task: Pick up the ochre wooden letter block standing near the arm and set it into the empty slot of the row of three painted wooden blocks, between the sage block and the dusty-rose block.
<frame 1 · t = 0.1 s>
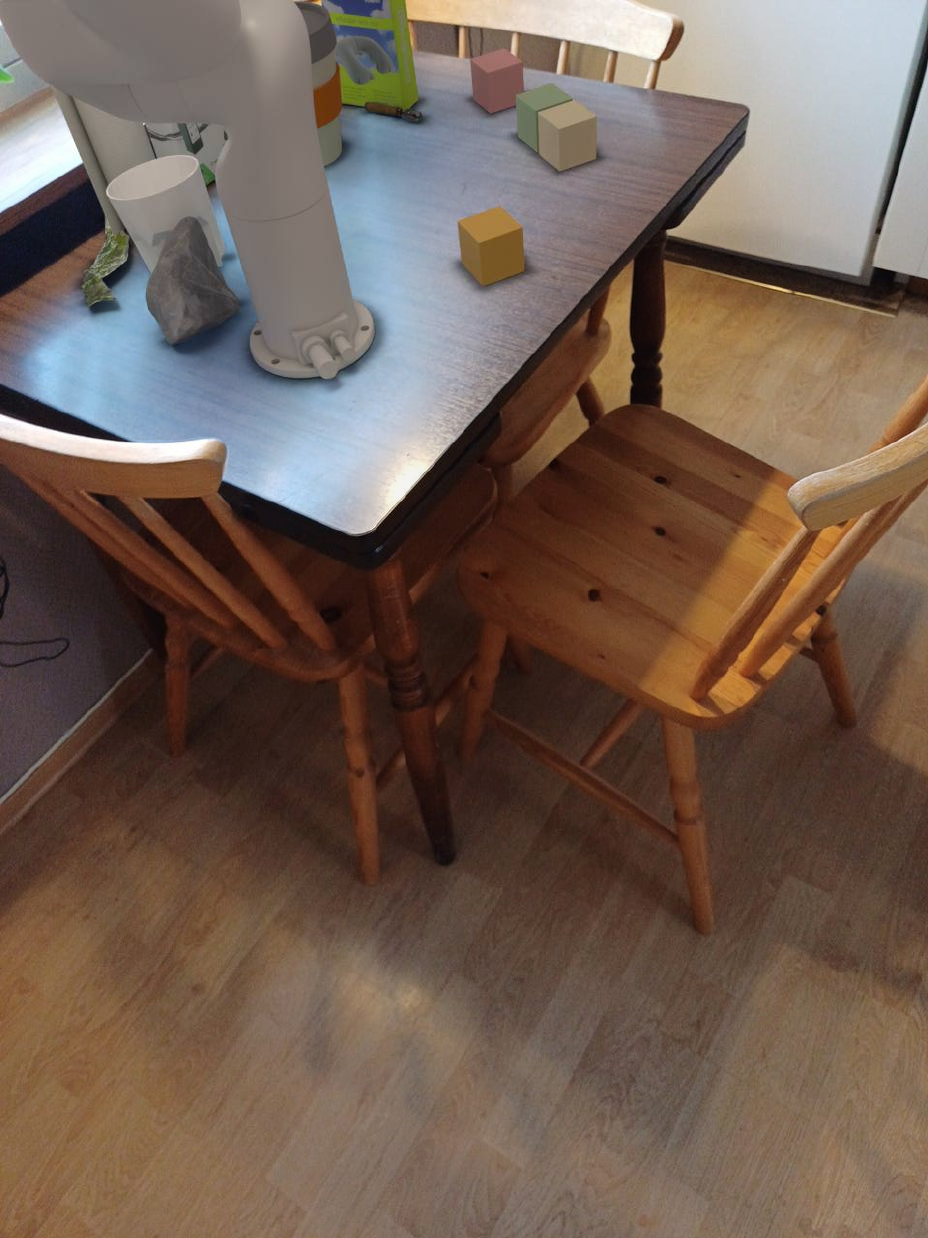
ink box: (203, 176, 119), on the table
ochre block: (493, 267, 101), on the table
box: (379, 104, 127), on the table
cup: (191, 267, 106), on the table
stone: (237, 305, 101), on the table
block b: (545, 138, 116), on the table
paper towel roll: (147, 227, 112), on the table, touching green crumpled strip
green crumpled strip: (114, 237, 108), point 2 cm above the table, touching paper towel roll
block c: (498, 100, 123), on the table
can opener: (394, 117, 124), on the table
reusable coffee cup: (307, 154, 120), on the table
block a: (567, 156, 113), on the table
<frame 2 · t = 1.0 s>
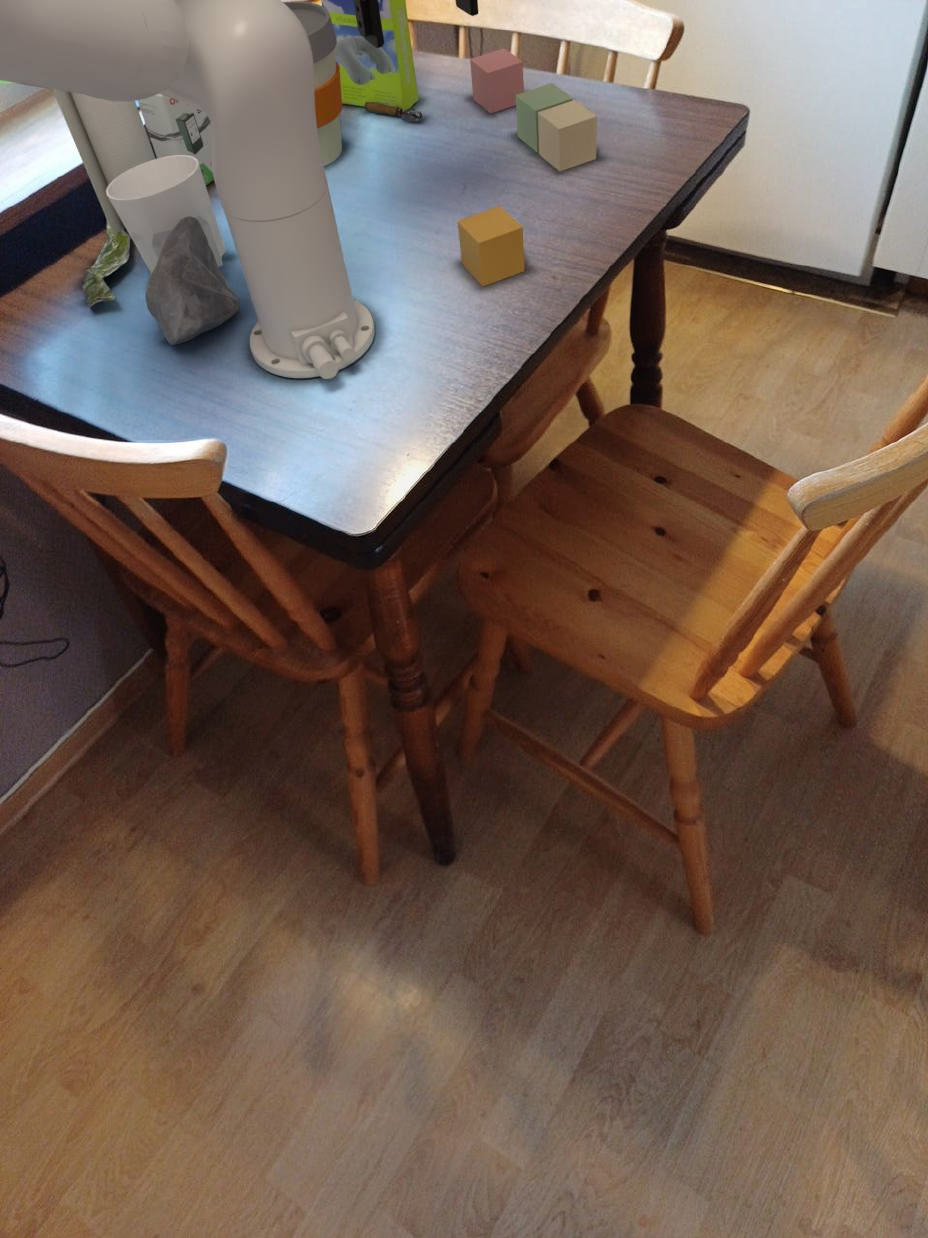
hand: (421, 26, 86), 22 cm above the table, tool pointing down, fingers open, 9 cm apart
paper towel roll: (147, 227, 112), on the table
green crumpled strip: (115, 237, 108), point 2 cm above the table
everything else where it was.
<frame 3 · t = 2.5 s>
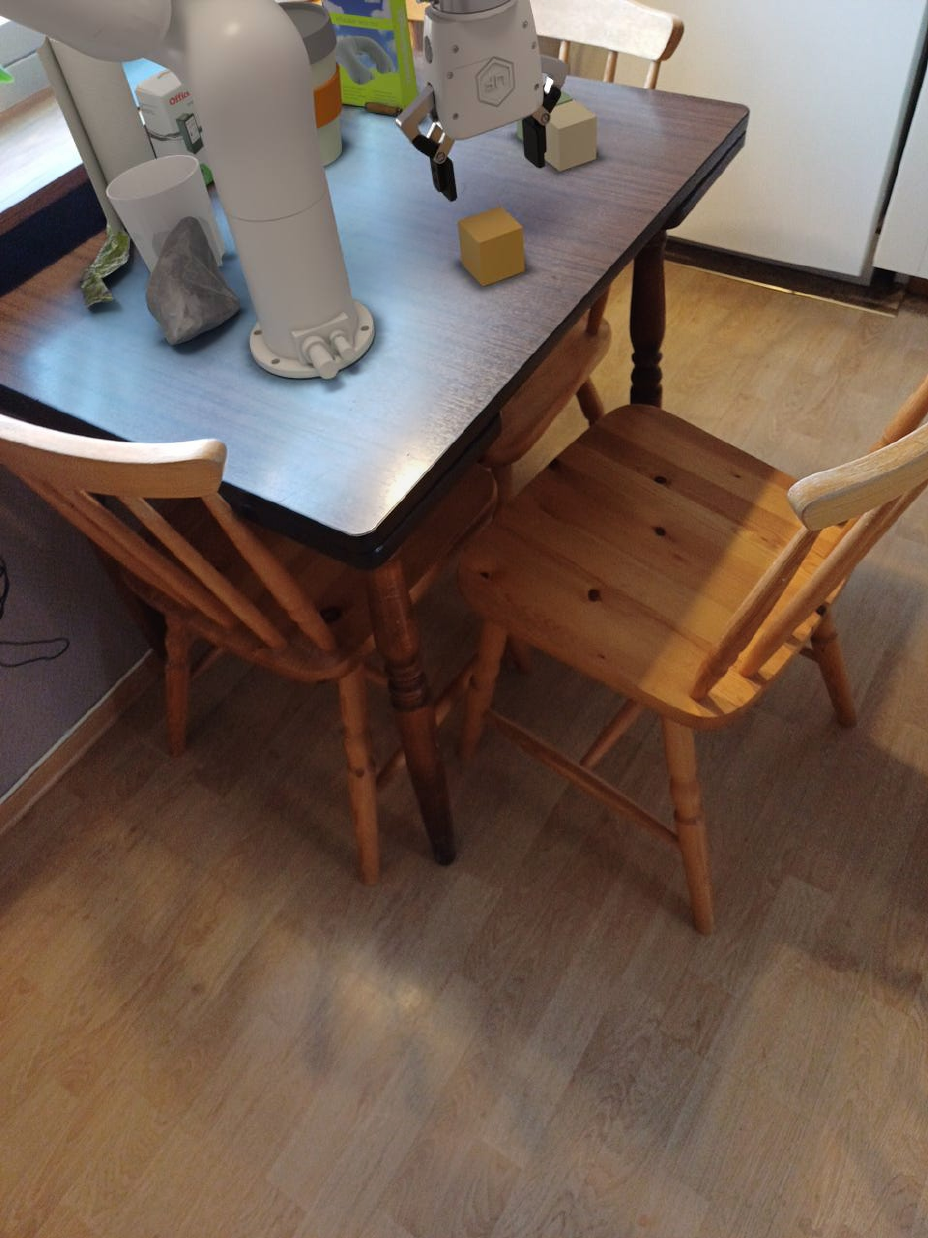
hand: (491, 178, 93), 10 cm above the table, tool pointing down, fingers open, 9 cm apart
paper towel roll: (147, 227, 112), on the table, touching green crumpled strip
green crumpled strip: (115, 236, 108), point 2 cm above the table, touching paper towel roll
everything else where it was.
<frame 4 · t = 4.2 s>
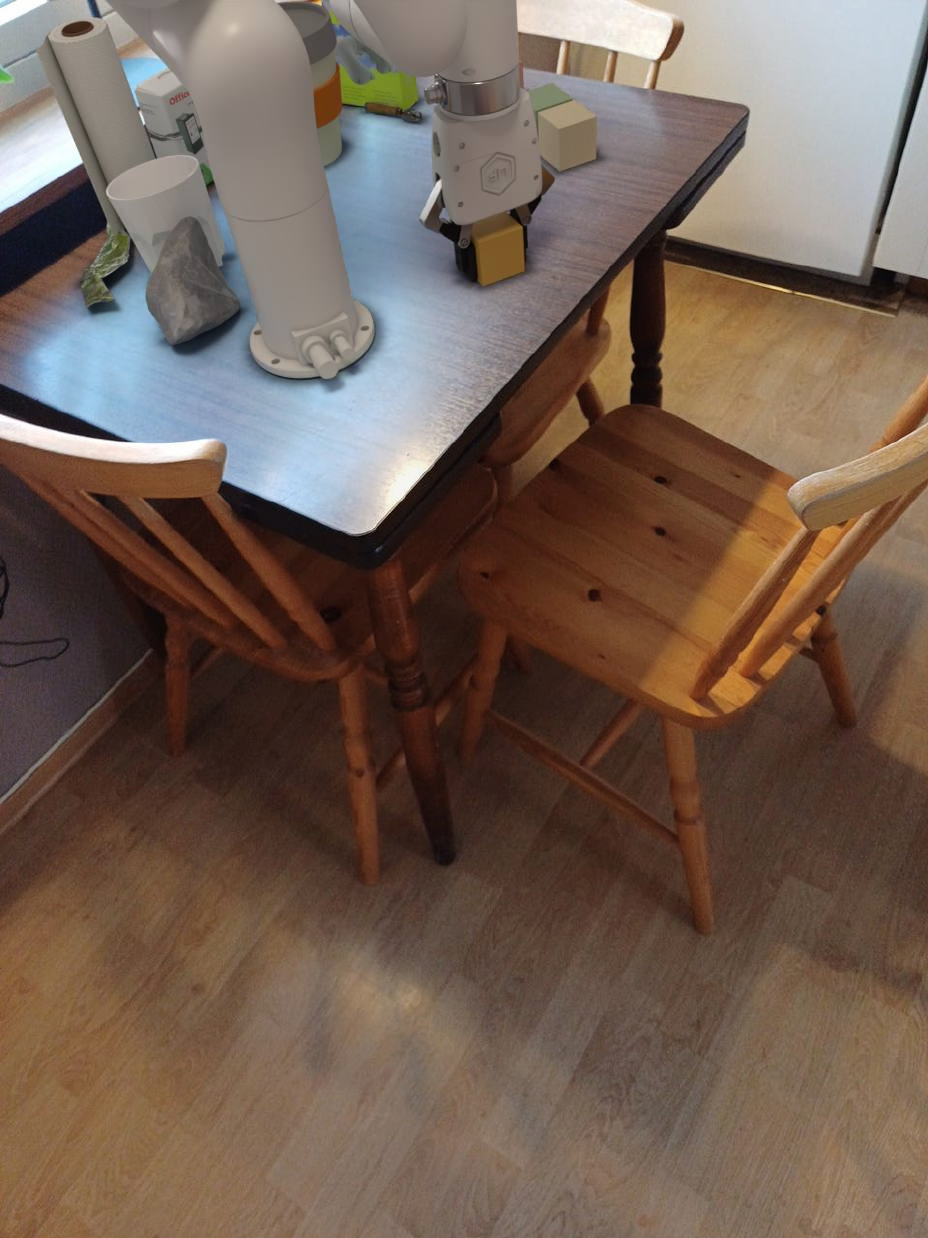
hand: (492, 263, 100), 0 cm above the table, tool pointing down, fingers closed on ochre block, 5 cm apart
ochre block: (493, 267, 101), on the table, touching gripper
everything else where it was.
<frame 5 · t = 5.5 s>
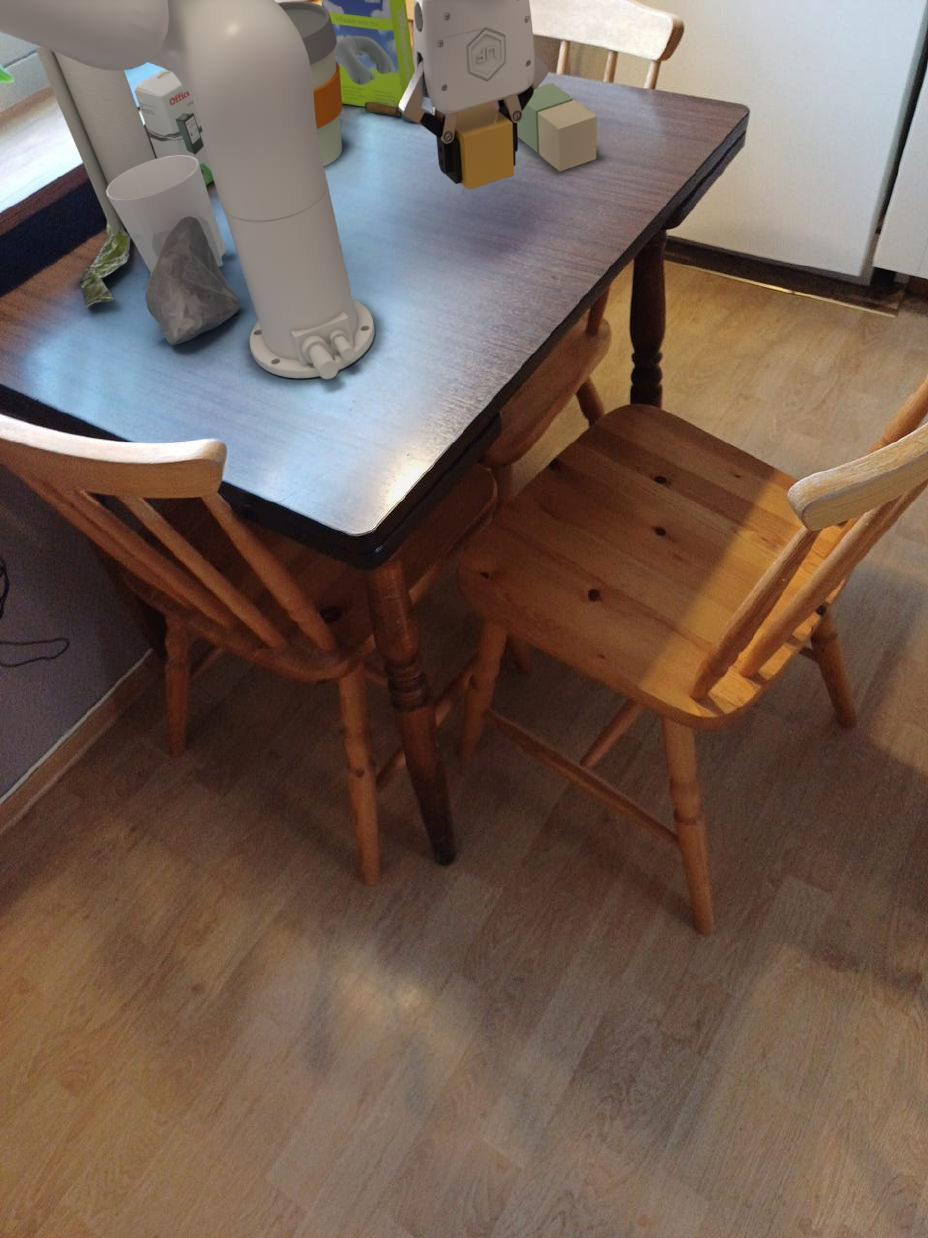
hand: (479, 167, 92), 11 cm above the table, tool pointing down, fingers closed on ochre block, 5 cm apart
ochre block: (479, 172, 92), point 11 cm above the table, touching gripper
everything else where it was.
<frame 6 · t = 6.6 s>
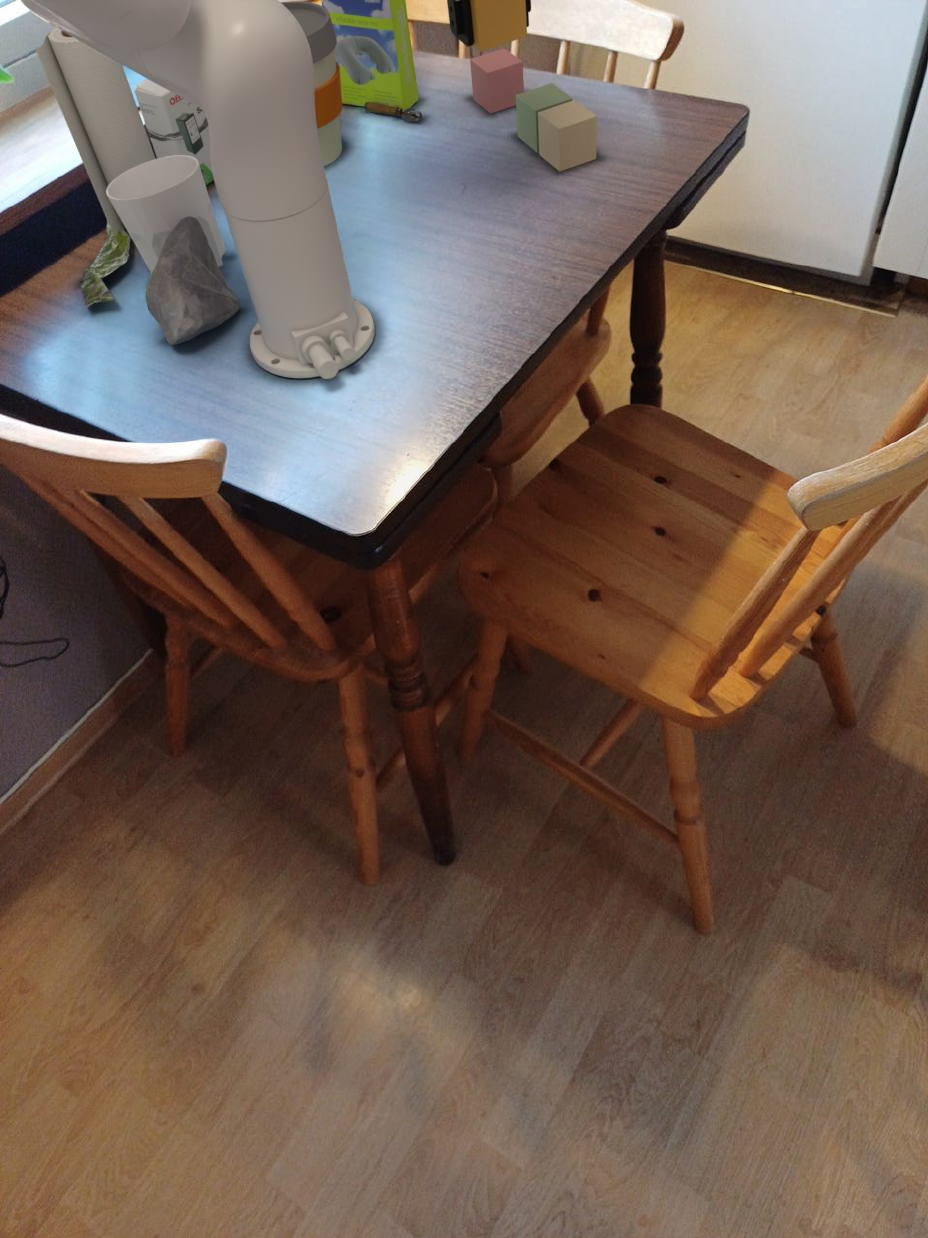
hand: (491, 29, 90), 20 cm above the table, tool pointing down, fingers closed on ochre block, 5 cm apart
ochre block: (492, 34, 90), point 19 cm above the table, touching gripper
everything else where it was.
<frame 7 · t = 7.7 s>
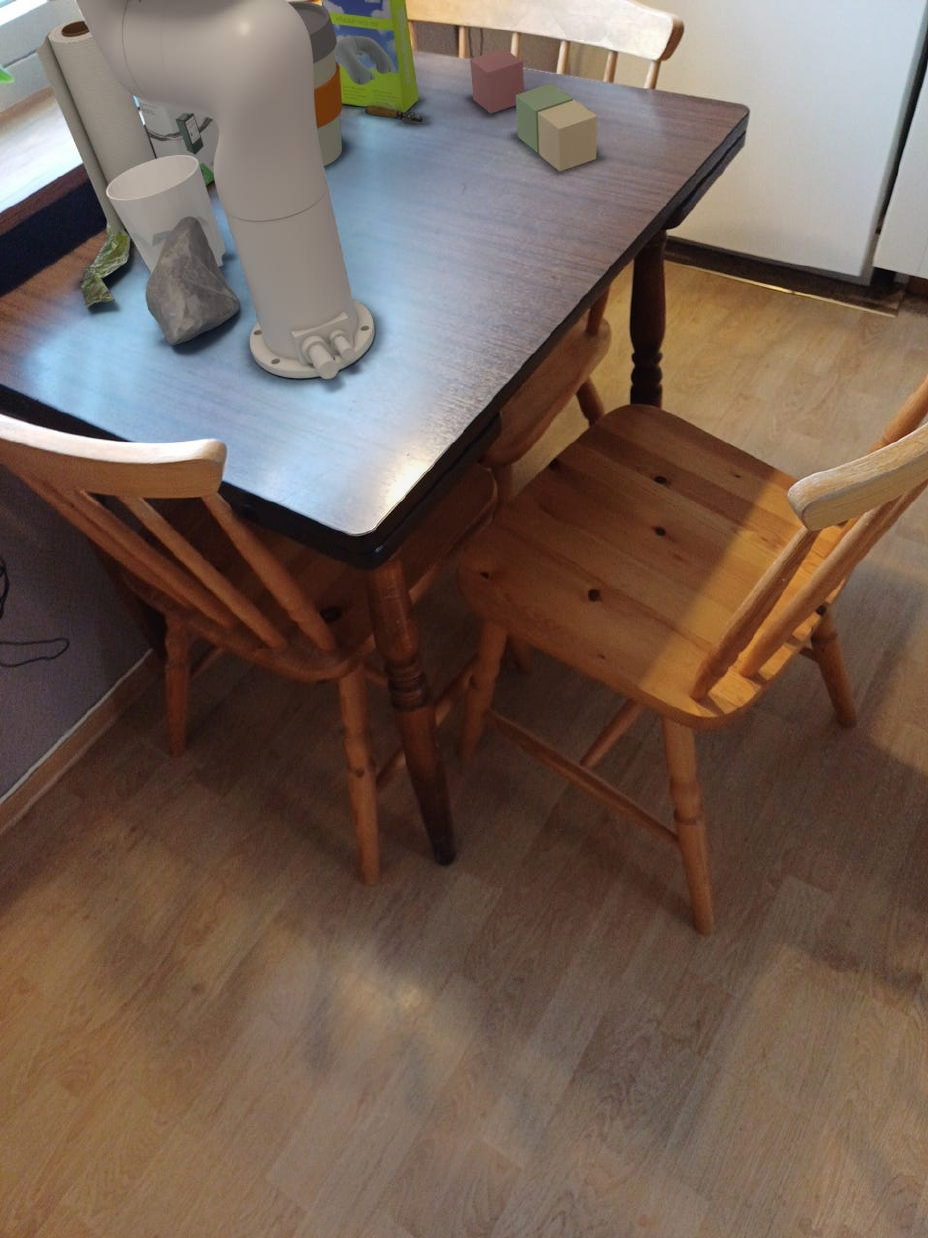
when the fingers open (0 cm above the table, at t = 12.8 s): ochre block stays where it is, on the table.
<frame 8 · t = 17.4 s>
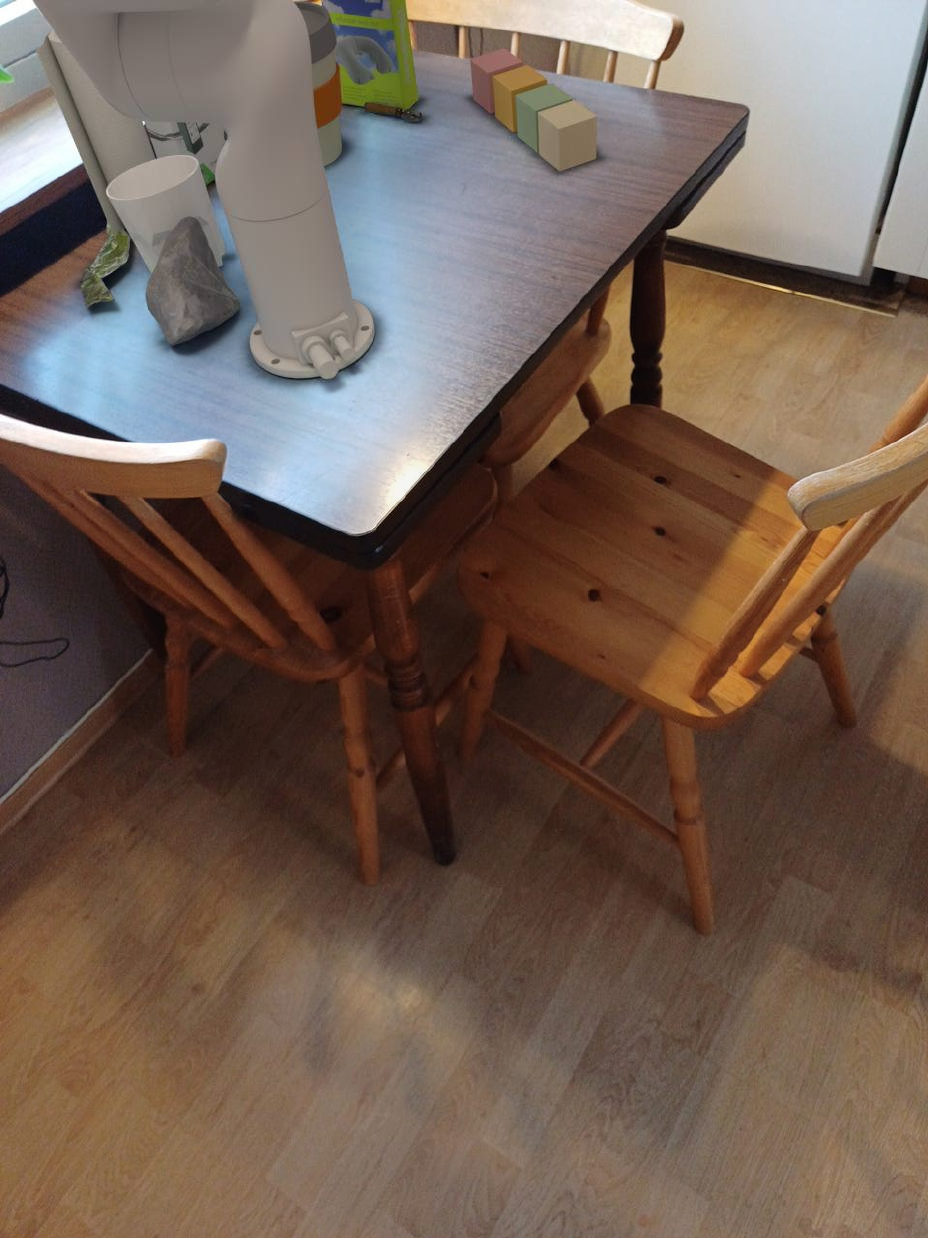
ochre block: (521, 118, 120), on the table
everything else where it was.
at the end: ochre block 0.1 cm from the target spot on the table beside the block c, on the table; ochre block tilted 0° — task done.
